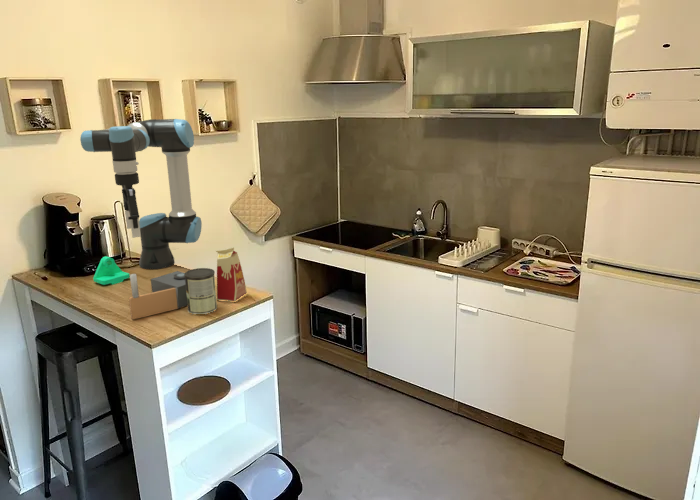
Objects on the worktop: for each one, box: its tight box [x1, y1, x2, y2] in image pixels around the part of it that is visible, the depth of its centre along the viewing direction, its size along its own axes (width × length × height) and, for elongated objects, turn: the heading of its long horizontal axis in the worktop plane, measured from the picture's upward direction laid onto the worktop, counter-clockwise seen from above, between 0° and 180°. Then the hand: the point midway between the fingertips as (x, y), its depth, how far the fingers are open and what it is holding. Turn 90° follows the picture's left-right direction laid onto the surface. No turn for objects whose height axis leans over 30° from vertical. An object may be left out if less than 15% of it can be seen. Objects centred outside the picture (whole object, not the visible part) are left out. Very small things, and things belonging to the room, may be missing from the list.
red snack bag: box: [215, 247, 248, 301], centre depth 201 cm, size 9×9×20 cm
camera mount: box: [92, 255, 130, 286], centre depth 222 cm, size 12×8×10 cm, turn 143°
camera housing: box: [150, 270, 188, 309], centre depth 201 cm, size 12×16×9 cm
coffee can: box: [183, 267, 218, 315], centre depth 190 cm, size 10×10×14 cm
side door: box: [128, 273, 180, 320], centre depth 186 cm, size 2×17×16 cm, turn 129°
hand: (133, 232), depth 190 cm, fingers open, 13 cm apart
